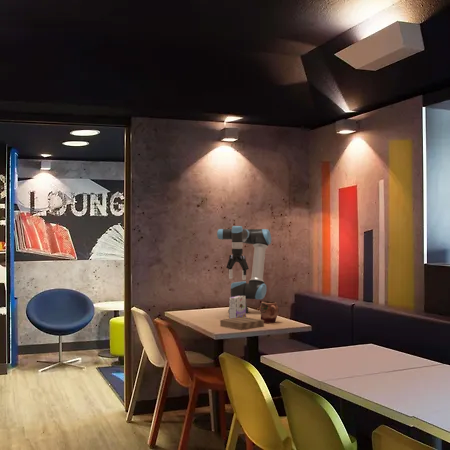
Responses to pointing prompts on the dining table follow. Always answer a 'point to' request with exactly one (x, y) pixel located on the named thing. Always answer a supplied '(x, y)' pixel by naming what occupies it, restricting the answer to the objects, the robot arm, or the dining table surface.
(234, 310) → the candy box
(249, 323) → the walnut plinth
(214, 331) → the dining table surface
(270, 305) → the decorative planter
